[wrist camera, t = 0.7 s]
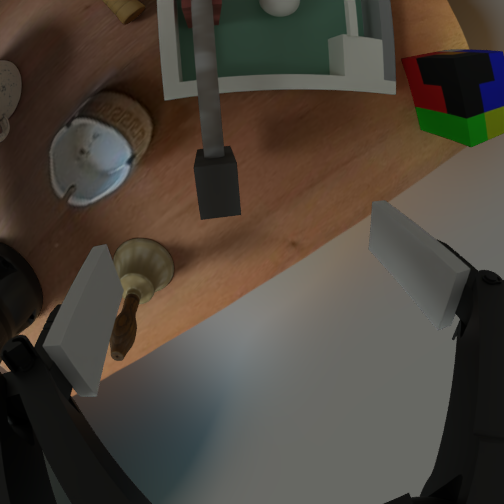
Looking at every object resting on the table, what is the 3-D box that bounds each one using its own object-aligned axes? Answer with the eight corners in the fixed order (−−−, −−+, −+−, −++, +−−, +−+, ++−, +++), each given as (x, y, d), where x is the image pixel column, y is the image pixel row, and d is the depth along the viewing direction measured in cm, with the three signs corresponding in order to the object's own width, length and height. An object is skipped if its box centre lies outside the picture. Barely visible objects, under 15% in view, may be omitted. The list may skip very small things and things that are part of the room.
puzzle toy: (451, 49, 28) (502, 51, 19) (466, 113, 33) (515, 128, 24) (400, 58, 29) (453, 58, 20) (420, 129, 34) (471, 147, 25)
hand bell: (101, 261, 37) (61, 349, 24) (143, 225, 36) (111, 310, 22) (143, 301, 41) (125, 394, 28) (186, 270, 40) (181, 365, 26)
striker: (201, 179, 32) (199, 223, 22) (182, -72, 17) (175, -127, 7) (231, 175, 32) (243, 218, 22) (213, -75, 17) (218, -131, 7)
